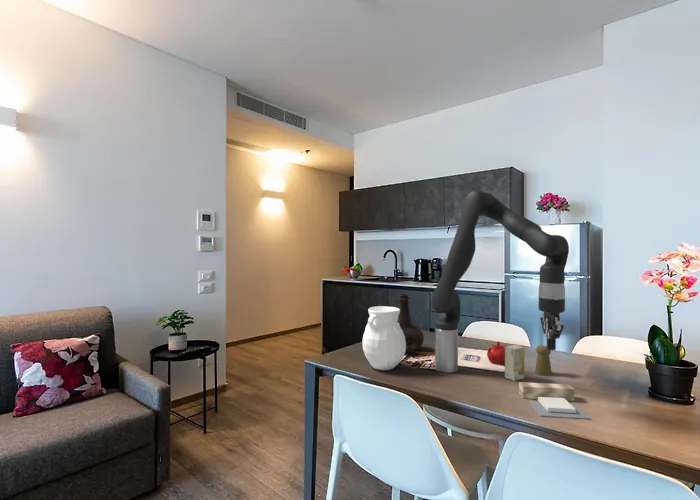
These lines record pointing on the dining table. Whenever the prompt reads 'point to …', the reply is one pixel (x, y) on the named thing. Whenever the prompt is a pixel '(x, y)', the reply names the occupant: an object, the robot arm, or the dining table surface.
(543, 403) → the tile
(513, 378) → the skincare box
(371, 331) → the pitcher
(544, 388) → the beech block
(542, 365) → the olive pawn figure
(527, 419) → the dining table surface
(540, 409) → the mat
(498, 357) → the pomegranate
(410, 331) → the glass bottle
